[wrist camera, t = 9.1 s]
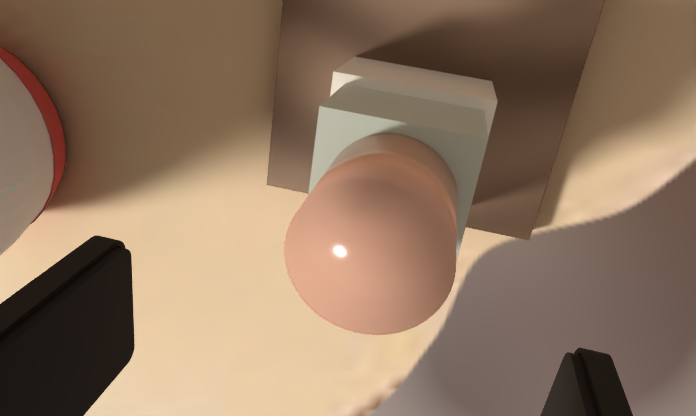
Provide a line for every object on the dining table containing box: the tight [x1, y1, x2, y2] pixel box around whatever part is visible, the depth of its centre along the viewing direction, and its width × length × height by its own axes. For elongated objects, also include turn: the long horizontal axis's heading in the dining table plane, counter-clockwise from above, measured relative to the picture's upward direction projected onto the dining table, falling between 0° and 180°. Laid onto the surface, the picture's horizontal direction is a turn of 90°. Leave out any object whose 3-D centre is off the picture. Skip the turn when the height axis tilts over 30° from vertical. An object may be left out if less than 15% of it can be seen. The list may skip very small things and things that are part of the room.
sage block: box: [308, 84, 488, 261], centre depth 22 cm, size 6×6×4 cm
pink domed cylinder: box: [284, 133, 458, 335], centre depth 18 cm, size 5×5×5 cm
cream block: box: [330, 56, 498, 137], centre depth 27 cm, size 7×7×5 cm
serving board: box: [267, 0, 605, 240], centre depth 28 cm, size 18×15×1 cm
